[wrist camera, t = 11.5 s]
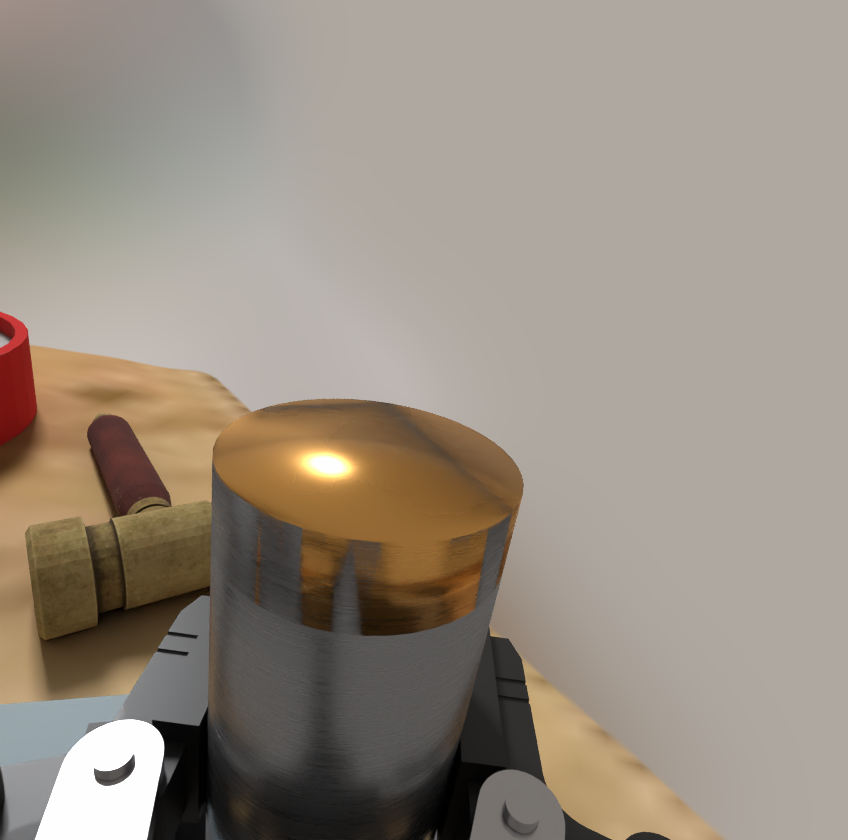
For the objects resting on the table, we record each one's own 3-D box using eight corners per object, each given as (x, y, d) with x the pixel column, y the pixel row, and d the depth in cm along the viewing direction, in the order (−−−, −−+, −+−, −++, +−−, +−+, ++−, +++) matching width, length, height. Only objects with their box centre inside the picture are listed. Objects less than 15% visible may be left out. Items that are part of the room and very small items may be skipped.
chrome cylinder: (188, 1184, 10) (190, 545, 5) (211, 921, 14) (226, 391, 8) (401, 1118, 11) (580, 541, 6) (371, 891, 15) (467, 406, 10)
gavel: (9, 392, 35) (176, 381, 41) (18, 458, 36) (178, 438, 42) (28, 564, 19) (293, 507, 25) (42, 666, 21) (290, 590, 27)
